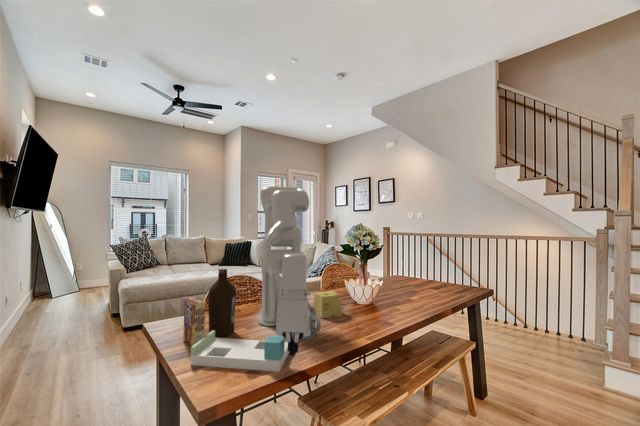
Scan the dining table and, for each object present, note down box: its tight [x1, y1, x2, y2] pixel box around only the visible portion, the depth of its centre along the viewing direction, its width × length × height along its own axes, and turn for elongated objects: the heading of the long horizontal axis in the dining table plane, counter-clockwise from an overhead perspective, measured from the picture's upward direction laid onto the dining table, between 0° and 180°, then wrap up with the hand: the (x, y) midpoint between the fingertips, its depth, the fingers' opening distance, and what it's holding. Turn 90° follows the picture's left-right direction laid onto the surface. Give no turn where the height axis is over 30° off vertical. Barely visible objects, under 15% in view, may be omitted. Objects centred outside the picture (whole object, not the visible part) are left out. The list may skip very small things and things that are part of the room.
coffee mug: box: [292, 305, 322, 341], centre depth 116 cm, size 13×10×10 cm
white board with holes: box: [190, 330, 289, 373], centre depth 98 cm, size 14×28×6 cm, turn 83°
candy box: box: [182, 297, 207, 347], centre depth 109 cm, size 9×4×15 cm, turn 47°
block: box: [264, 335, 286, 360], centre depth 93 cm, size 5×5×5 cm
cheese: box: [313, 290, 343, 319], centre depth 144 cm, size 10×11×10 cm
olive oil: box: [207, 268, 237, 338], centre depth 119 cm, size 11×11×25 cm
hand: (293, 353), depth 92 cm, fingers closed
